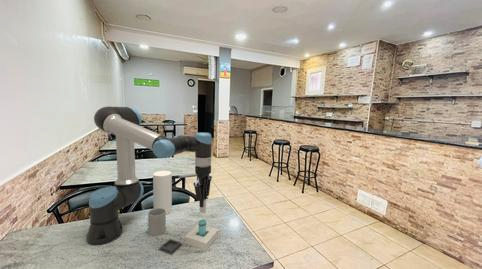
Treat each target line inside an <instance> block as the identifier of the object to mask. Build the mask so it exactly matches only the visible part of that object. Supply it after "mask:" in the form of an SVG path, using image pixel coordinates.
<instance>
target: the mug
mask: <svg viewBox="0 0 482 269" xmlns="http://www.w3.org/2000/svg"><path fill="white" fill-rule="evenodd" d="M166 217H167V215H166V211H165V209H162V208H156V209H154V208H153V209H151V210H149V211H148V214H147V223H148V225H147V226H148V228H147V230H148V232H147V233H148V234H149V235H150V236H159V235H162V234H164V233H165V232H166V230H167V227H166V226H167V222H166V221H167V220H166Z"/></svg>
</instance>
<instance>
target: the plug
mask: <svg viewBox="0 0 482 269" xmlns="http://www.w3.org/2000/svg"><path fill="white" fill-rule="evenodd" d="M198 224H199V236H202V237H204V236H205V235H206V226H207V220H206V219H200V220H198Z"/></svg>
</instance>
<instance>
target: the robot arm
mask: <svg viewBox="0 0 482 269" xmlns="http://www.w3.org/2000/svg"><path fill="white" fill-rule="evenodd" d="M93 122H94V124H95V126H96V127H97V128H99V130H100V131H103V132H105V133H107V134H113V135H115V143H116V144H115V147H116V167H117V168H116V171H117V179H116V180H115V181H114V186H105V187H101V188H97V189H96V190H94V191H93V192H92V193H91V194H90V195H89V200H88V201H89V202H88V206H89V220H90V222H89V223H90V224H89V227H88V231H87V233H86V242H87V243H88V244H89V245H91V246H92V245H93V246H101V245H105V244H108V243H111V242H113V241H115V240H117V239H118V238H120V237H121V236H122V234H123V233H124V229H123V227H124V226H123V224H122V222H121V221H120V218H119V210H122V209H123V208H126V207H127V206H129V205H132V204H133V203H136V202H137V201H139V200H140V199H141V198H142V196H143V194H144V185H143V184H142V181H139V178H138V177H137V176H136V158H135V157H136V156H135V155H136V154H135V148H136V147H135V144H138V145H139V146H142V147H144V148H146V149H149V150H150V151H152V152H153V154H154V155H155V157H156V158H158V159H166V158H170V157H172V156H175V155H179V154H182V153H185V152H187V153H190V152H191V153H194V154H195V157H194V158H195V160H194V165H195V166H194V172H195V174H196V175H197V176H196V181H195V182H193V184H192V185H193V187H194V192H195V198H196V199H195V200H196V201H199V213H201V214H206V212H207V200H208V199H209V195H210V190H211V182H212V179H213V176H212V175H210V174H211V173H212V143H213V142H212V134H211V133H210V132H196V133H195V135H194V136H191V135H190V136H189V135H188V136H187V135H183V134H181V135H174V136H173V137H171V138H170V137H167V136H164V135H162V134H160V133H158V132H154V131H152V130H150V129H148V128H145V127H143V126H141V124H142V122H143V121H142V115H141V114H140V112H139V111H138V110H137V109H136V108H134V107H129V106H103V107H101V108H99V109H98V110H96V111H95V113H94V116H93Z"/></svg>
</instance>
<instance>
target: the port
mask: <svg viewBox="0 0 482 269" xmlns="http://www.w3.org/2000/svg"><path fill="white" fill-rule="evenodd" d="M219 231H220V230H219V229H218V228H214V227H211V226H208V225H206V235H205V236H204V237H202V236H199V223H198V224H197V225H196V226H195V227H194V228H193V229H191V230H190V231H189V232H188V233H187V234H186V235H185V236H184V244H186V245H187V246H192V247H195V248H197V249H201V250H204V251H207V250H208V249H209V248H210V246H211V245H212V244H213V243H214V241H216V239H218V237H219V234H220V233H219Z"/></svg>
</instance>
